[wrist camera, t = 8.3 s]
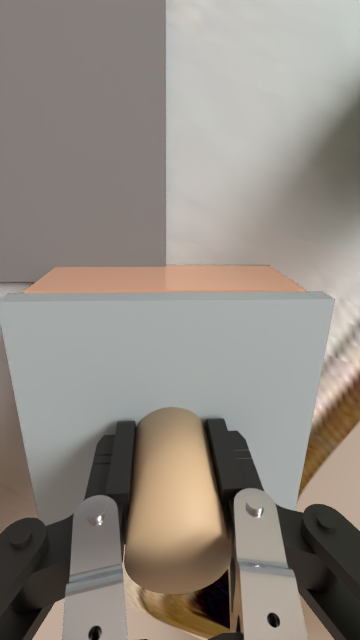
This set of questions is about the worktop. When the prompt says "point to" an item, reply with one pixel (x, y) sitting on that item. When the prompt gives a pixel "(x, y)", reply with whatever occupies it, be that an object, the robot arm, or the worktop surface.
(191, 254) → the worktop surface
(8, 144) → the mat
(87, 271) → the dish
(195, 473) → the lid
